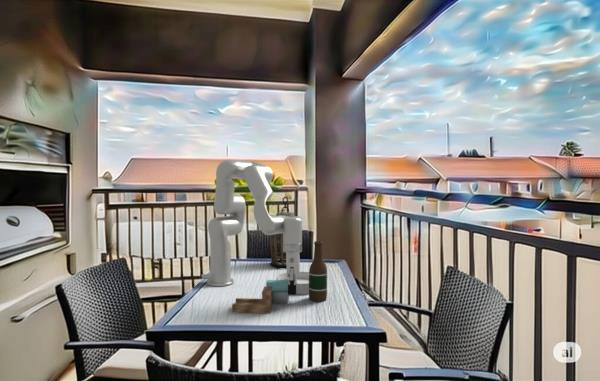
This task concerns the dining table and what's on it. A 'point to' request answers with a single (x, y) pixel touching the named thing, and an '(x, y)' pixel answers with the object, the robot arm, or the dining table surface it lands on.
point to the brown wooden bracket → (254, 303)
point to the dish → (298, 282)
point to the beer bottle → (318, 275)
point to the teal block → (279, 285)
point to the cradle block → (280, 297)
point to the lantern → (274, 256)
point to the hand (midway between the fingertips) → (292, 292)
